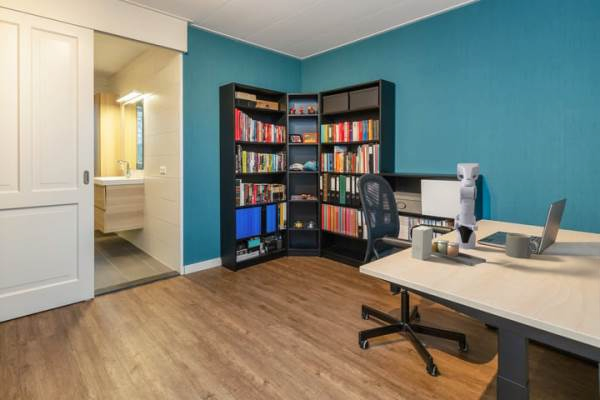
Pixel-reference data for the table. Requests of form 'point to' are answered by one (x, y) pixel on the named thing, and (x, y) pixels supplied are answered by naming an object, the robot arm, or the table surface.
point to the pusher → (435, 247)
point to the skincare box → (421, 243)
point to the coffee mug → (520, 245)
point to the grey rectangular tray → (461, 258)
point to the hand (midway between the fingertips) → (465, 242)
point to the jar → (453, 249)
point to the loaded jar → (442, 246)
